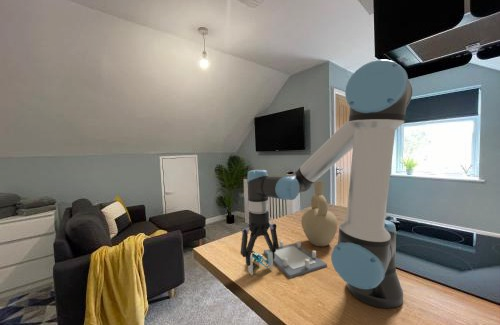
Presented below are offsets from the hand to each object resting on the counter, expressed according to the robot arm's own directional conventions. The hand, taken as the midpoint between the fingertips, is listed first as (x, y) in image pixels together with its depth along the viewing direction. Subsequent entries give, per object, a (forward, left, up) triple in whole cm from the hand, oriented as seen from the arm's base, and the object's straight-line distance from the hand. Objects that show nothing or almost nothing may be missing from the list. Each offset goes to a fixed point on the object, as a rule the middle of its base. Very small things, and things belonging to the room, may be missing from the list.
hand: (260, 270), depth 79 cm
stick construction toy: (+2, -2, -1) cm, 3 cm away
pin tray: (+2, -16, -1) cm, 16 cm away
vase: (+9, -36, -1) cm, 37 cm away
